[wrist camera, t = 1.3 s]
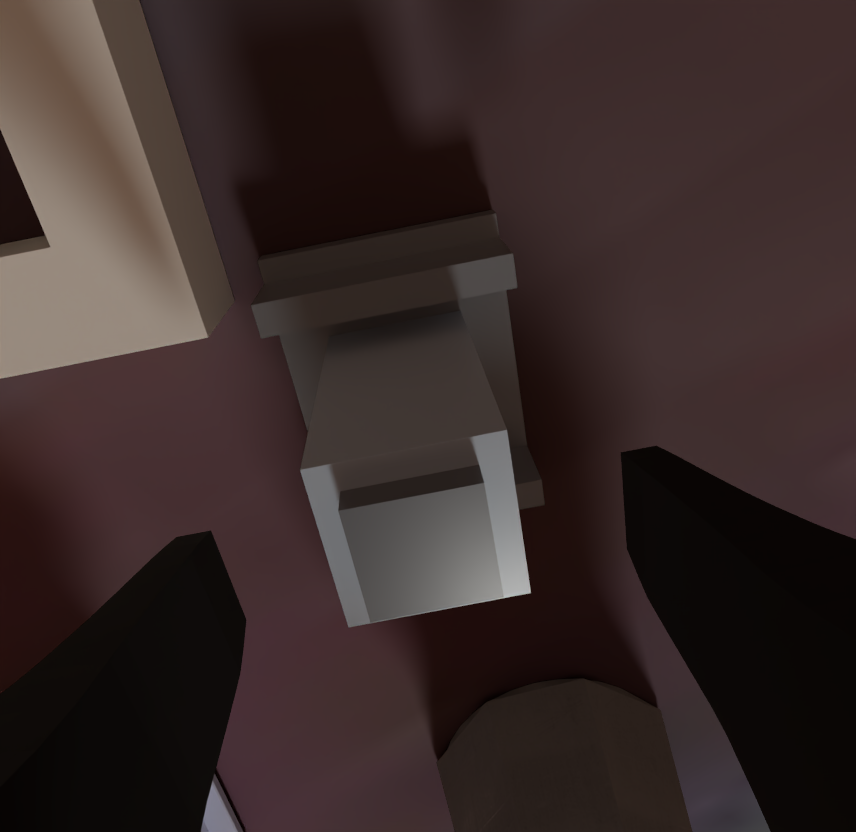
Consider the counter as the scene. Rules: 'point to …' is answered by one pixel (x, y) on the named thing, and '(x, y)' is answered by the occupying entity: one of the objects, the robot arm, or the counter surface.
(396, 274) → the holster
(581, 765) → the coffeepot
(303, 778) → the counter surface
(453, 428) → the plug
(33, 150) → the port
